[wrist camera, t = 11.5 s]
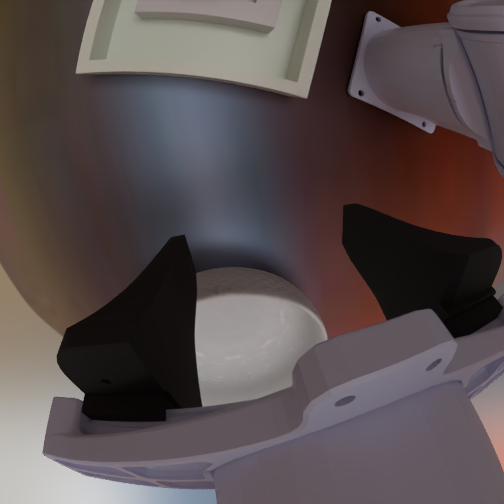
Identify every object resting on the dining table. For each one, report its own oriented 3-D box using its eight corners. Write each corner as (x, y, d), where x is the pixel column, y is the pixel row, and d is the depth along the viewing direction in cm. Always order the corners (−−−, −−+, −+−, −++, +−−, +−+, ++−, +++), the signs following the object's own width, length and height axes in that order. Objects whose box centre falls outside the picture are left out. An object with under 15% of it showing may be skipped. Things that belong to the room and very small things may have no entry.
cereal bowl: (275, 362, 34) (287, 409, 28) (143, 352, 29) (137, 403, 24) (332, 254, 25) (365, 306, 19) (148, 224, 21) (128, 279, 15)
